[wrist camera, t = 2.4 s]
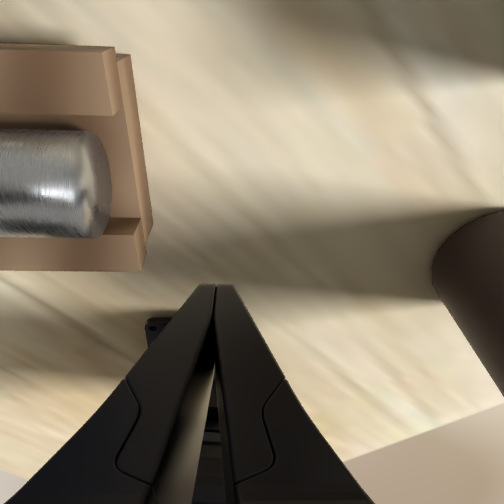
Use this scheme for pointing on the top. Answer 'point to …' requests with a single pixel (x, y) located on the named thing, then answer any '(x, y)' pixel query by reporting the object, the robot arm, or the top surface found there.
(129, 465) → the robot arm
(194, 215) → the top surface
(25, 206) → the axle
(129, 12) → the top surface
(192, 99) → the top surface
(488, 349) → the bottle
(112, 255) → the beam
